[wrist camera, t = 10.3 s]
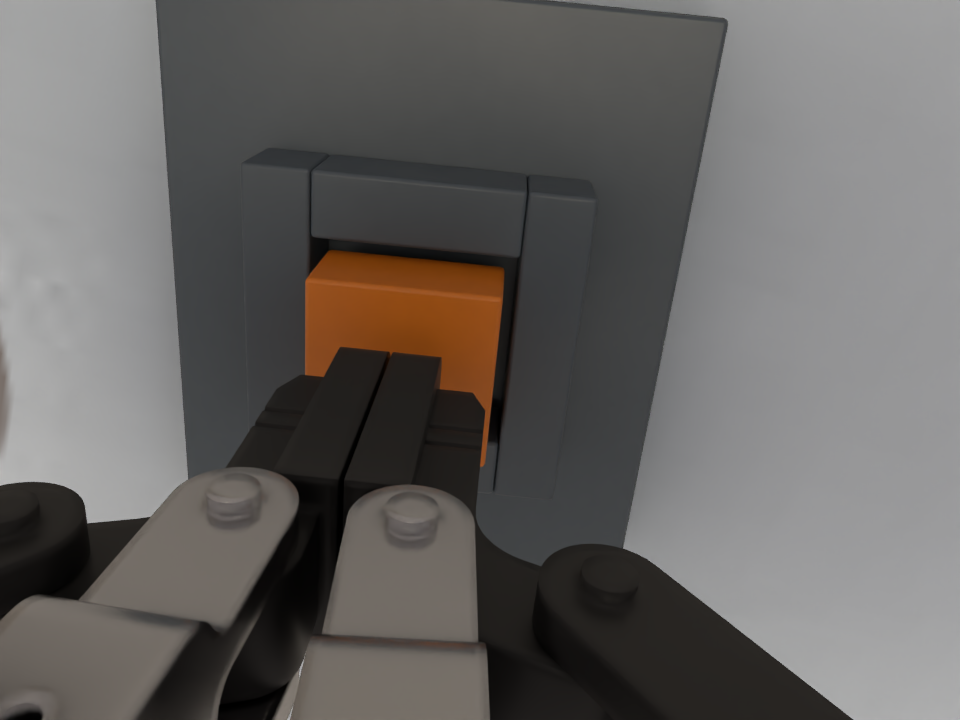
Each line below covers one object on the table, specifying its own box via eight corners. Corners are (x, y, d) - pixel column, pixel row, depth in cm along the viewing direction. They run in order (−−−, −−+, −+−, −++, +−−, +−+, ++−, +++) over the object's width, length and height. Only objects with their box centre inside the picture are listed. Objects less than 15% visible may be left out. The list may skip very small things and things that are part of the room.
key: (328, 248, 14) (304, 278, 13) (505, 265, 14) (503, 297, 13) (326, 405, 16) (304, 450, 14) (488, 422, 16) (484, 469, 14)
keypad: (182, -36, 15) (106, -45, 12) (712, 17, 15) (756, 19, 12) (211, 500, 20) (162, 578, 17) (611, 541, 20) (626, 627, 17)
